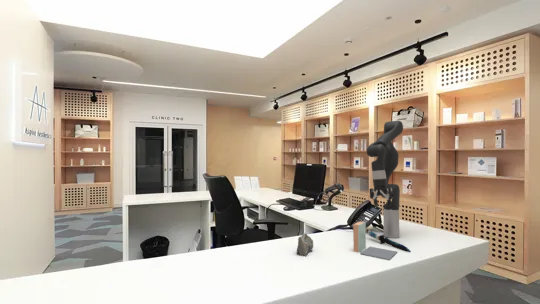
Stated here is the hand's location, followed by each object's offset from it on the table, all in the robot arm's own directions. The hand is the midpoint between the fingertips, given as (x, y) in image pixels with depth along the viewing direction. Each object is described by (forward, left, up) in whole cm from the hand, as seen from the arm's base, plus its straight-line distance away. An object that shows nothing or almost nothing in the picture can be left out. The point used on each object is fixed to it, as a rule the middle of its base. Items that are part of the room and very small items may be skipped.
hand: (382, 206), depth 159 cm
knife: (+3, +3, -22) cm, 22 cm away
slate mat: (+21, +4, -21) cm, 30 cm away
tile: (+21, -6, -21) cm, 30 cm away
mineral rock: (+43, -26, -22) cm, 55 cm away
